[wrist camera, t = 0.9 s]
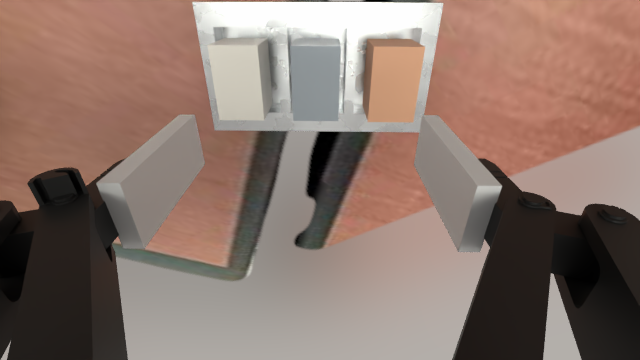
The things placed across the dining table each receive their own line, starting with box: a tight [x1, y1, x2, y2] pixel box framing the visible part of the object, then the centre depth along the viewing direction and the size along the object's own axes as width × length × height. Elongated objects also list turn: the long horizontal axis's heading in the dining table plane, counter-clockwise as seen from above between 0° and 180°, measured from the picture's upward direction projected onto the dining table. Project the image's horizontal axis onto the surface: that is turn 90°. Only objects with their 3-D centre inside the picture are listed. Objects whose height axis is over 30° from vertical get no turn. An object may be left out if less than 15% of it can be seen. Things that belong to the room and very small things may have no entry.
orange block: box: [362, 39, 425, 123], centre depth 29 cm, size 4×6×5 cm, turn 0°
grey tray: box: [192, 1, 443, 132], centre depth 33 cm, size 22×12×4 cm, turn 90°
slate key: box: [290, 38, 341, 121], centre depth 29 cm, size 4×6×5 cm, turn 0°
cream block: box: [207, 38, 273, 121], centre depth 29 cm, size 4×6×5 cm, turn 0°
